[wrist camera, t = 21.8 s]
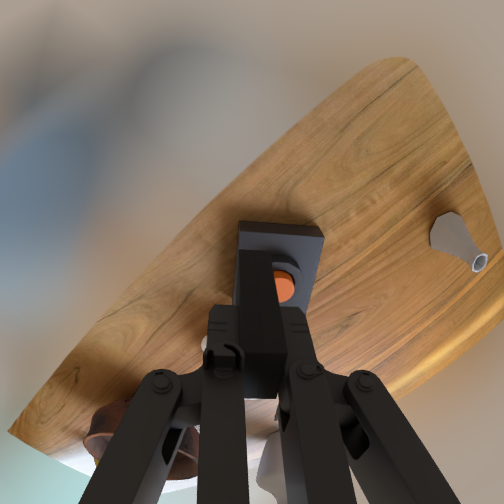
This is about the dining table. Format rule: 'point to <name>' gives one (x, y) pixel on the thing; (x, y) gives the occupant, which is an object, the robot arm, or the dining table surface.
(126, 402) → the bowl
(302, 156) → the dining table surface
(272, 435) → the vase
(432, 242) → the flask
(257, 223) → the button box
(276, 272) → the power button
